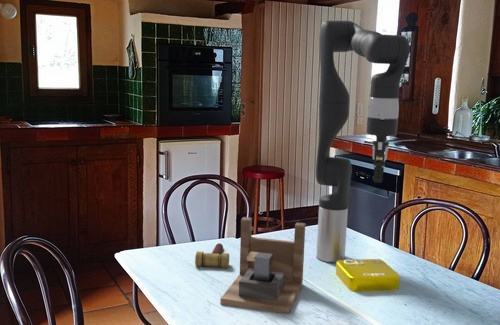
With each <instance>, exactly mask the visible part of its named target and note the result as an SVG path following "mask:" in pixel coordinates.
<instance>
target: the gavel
mask: <svg viewBox="0 0 500 325" xmlns="http://www.w3.org/2000/svg"><path fill="white" fill-rule="evenodd" d="M223 249H224V246H223V244H222V243H219V242H218V243H217V244H216V245H215V246H214V248H213V250H212V252H211V253H210V252H205V253H204V251H199V250H198V251H196V253H195V257H194V264H195V267H200V268H201V267H203V266H206V267H216V268H217V267H218V268H219V267H220V268H222V269H228V268H229V266H230V253H228V252H227V253H226V252H222V251H223Z"/></svg>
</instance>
